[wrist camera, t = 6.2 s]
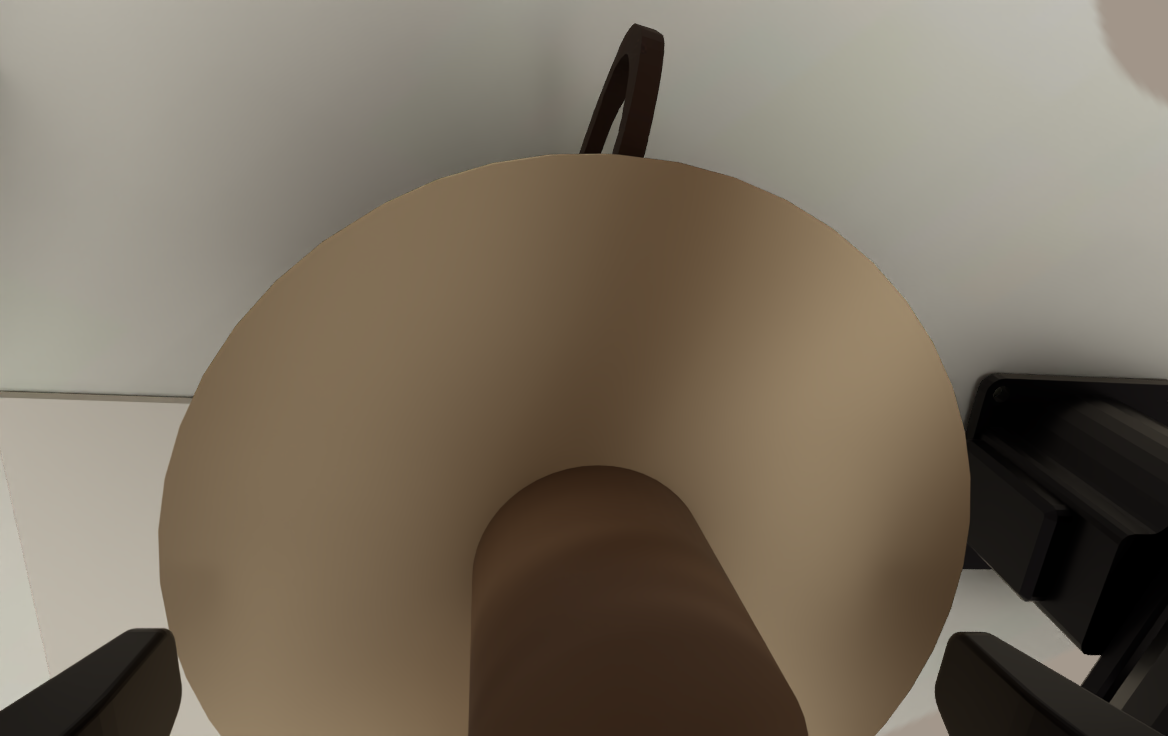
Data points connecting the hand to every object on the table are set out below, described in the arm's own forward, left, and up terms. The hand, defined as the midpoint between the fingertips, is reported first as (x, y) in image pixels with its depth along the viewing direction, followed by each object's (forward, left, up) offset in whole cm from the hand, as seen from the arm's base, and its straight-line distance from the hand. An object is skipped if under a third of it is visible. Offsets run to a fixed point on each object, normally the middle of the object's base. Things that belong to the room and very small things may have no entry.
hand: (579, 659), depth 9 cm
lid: (0, 0, -3) cm, 3 cm away
